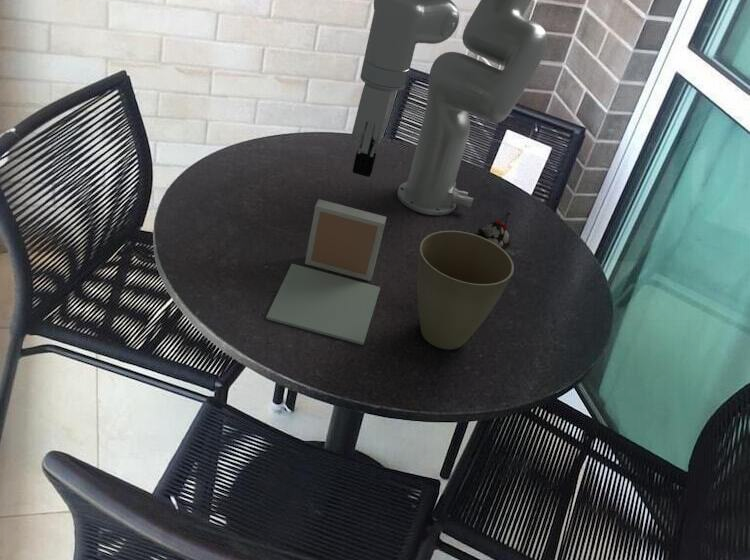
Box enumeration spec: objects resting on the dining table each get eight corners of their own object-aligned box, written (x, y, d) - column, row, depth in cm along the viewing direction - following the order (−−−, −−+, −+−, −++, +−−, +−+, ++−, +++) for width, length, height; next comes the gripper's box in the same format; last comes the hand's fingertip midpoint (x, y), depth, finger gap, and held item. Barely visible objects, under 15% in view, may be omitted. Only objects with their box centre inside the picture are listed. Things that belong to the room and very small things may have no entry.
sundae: (498, 280, 151) (523, 212, 143) (491, 299, 146) (515, 229, 137) (465, 268, 152) (487, 200, 144) (456, 286, 147) (479, 216, 139)
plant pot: (480, 313, 142) (506, 238, 133) (491, 371, 129) (521, 291, 120) (396, 301, 140) (417, 223, 131) (399, 358, 128) (423, 276, 119)
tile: (372, 273, 145) (386, 217, 138) (370, 282, 143) (384, 224, 136) (308, 256, 145) (318, 199, 139) (304, 264, 143) (315, 206, 136)
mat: (379, 289, 141) (380, 287, 141) (363, 345, 128) (363, 342, 128) (291, 265, 142) (291, 263, 142) (265, 318, 129) (266, 316, 128)
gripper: (370, 53, 138) (349, 150, 148) (353, 81, 125) (332, 185, 135) (412, 65, 138) (389, 161, 148) (400, 94, 125) (375, 197, 135)
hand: (361, 172), depth 141 cm, fingers closed
